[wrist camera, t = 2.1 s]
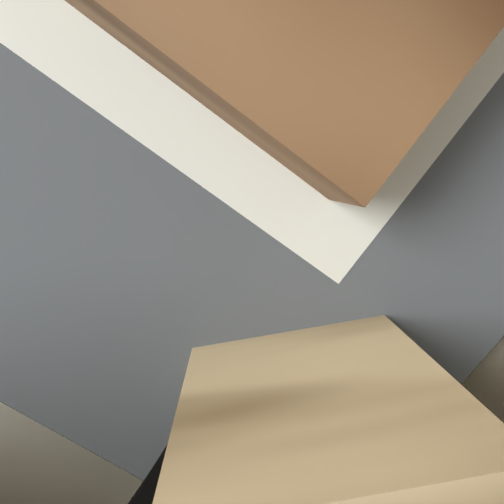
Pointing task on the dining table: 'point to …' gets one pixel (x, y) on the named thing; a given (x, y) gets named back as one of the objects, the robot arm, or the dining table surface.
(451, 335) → the mat
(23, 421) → the dining table surface
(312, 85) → the walnut base
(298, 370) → the maple cube
